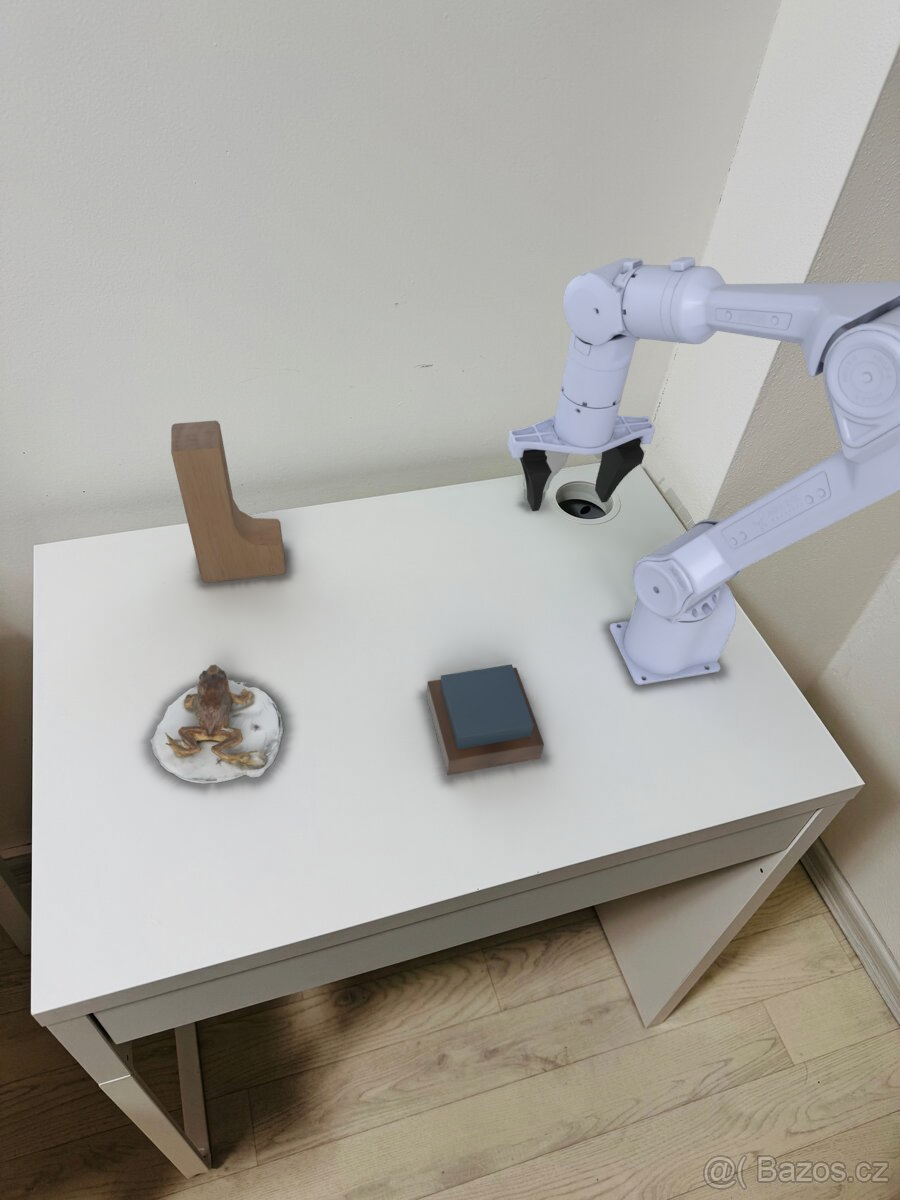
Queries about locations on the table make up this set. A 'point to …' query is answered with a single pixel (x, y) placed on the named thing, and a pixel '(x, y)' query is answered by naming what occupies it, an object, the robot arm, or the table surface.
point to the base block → (481, 754)
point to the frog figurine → (218, 731)
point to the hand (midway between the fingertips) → (567, 500)
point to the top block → (485, 706)
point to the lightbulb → (555, 463)
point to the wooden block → (220, 510)
